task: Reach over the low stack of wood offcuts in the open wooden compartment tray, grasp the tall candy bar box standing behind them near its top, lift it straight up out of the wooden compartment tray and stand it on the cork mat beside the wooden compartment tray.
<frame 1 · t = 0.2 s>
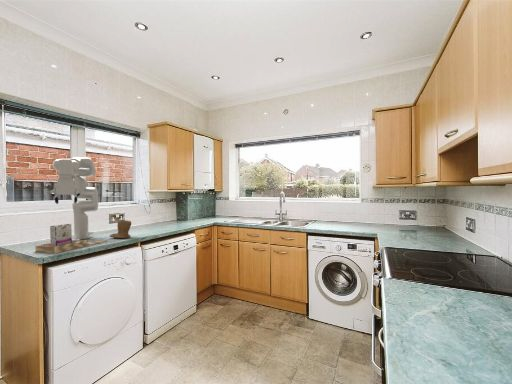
hand: (66, 203, 162), 31 cm above the worktop, tool pointing down, fingers open, 9 cm apart
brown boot: (122, 238, 203), on the worktop
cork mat: (95, 243, 182), on the worktop
candy bar box: (61, 249, 165), on the worktop
wooden compartment tray: (62, 248, 166), on the worktop
walnut offcut: (73, 246, 173), on the worktop
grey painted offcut: (73, 243, 173), point 2 cm above the worktop
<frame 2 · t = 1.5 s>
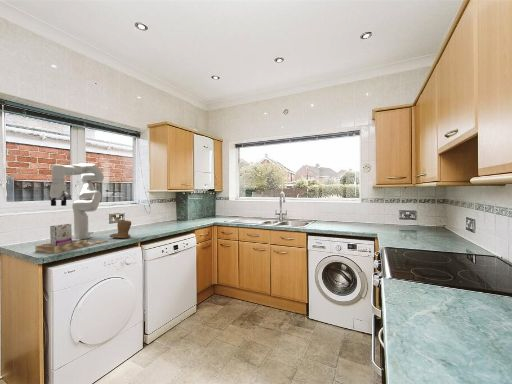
hand: (58, 205, 174), 29 cm above the worktop, tool pointing down, fingers open, 9 cm apart
walnut offcut: (73, 246, 173), on the worktop, touching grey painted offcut
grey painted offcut: (73, 243, 173), point 2 cm above the worktop, touching walnut offcut
everything else where it was.
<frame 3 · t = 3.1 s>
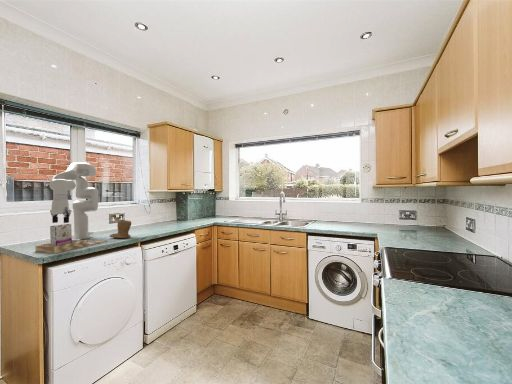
hand: (60, 222, 164), 18 cm above the worktop, tool pointing down, fingers open, 9 cm apart
walnut offcut: (73, 246, 173), on the worktop
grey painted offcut: (73, 243, 173), point 2 cm above the worktop
everything else where it was.
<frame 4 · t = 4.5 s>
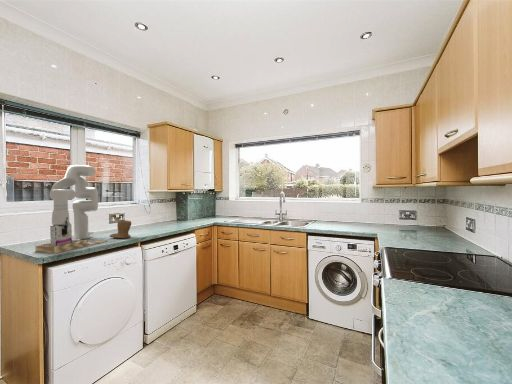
hand: (61, 234, 165), 10 cm above the worktop, tool pointing down, fingers closed on candy bar box, 5 cm apart
candy bar box: (61, 249, 165), on the worktop, touching gripper
walnut offcut: (73, 246, 173), on the worktop, touching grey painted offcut
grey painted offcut: (73, 243, 173), point 2 cm above the worktop, touching walnut offcut
everything else where it was.
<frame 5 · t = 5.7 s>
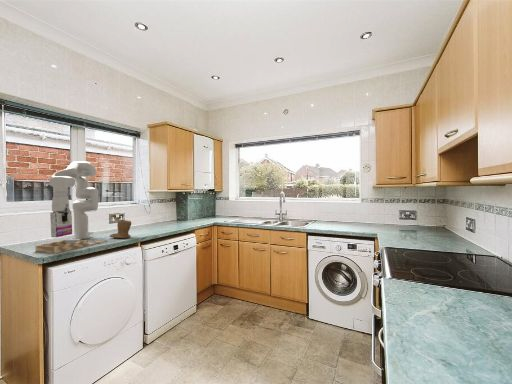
hand: (61, 221, 165), 19 cm above the worktop, tool pointing down, fingers closed on candy bar box, 5 cm apart
candy bar box: (61, 235, 166), point 9 cm above the worktop, touching gripper
everything else where it was.
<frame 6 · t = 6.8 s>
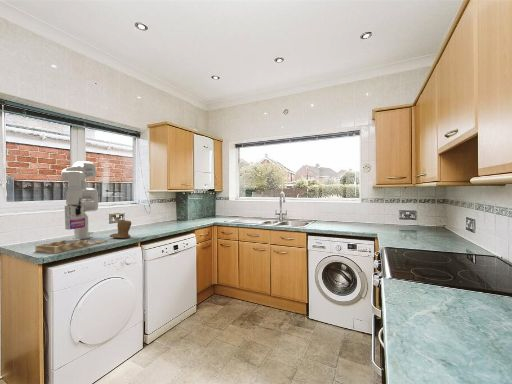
hand: (75, 214, 172), 23 cm above the worktop, tool pointing down, fingers closed on candy bar box, 5 cm apart
candy bar box: (75, 228, 172), point 13 cm above the worktop, touching gripper
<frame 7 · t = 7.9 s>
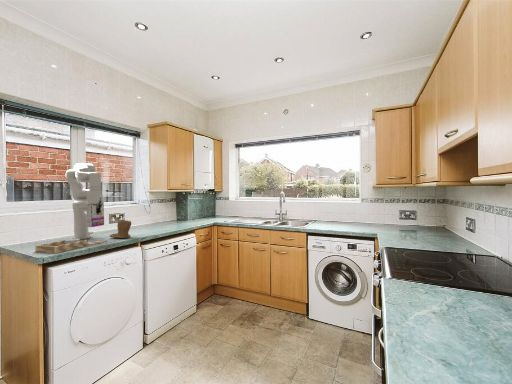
hand: (95, 212, 182), 23 cm above the worktop, tool pointing down, fingers closed on candy bar box, 5 cm apart
candy bar box: (95, 226, 182), point 13 cm above the worktop, touching gripper
when the fingers open (11 cm above the worktop, at t = 10.3 s): candy bar box stays where it is, resting on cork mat.
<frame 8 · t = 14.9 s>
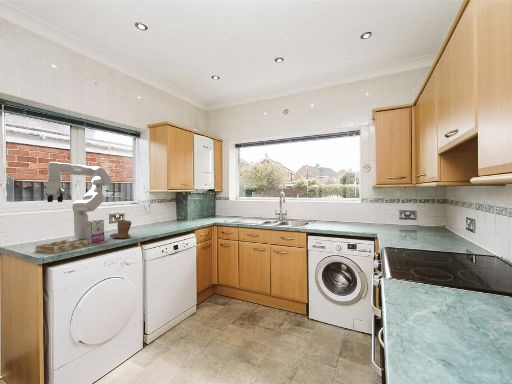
hand: (55, 202, 180), 31 cm above the worktop, tool pointing down, fingers open, 9 cm apart
candy bar box: (95, 242, 183), resting on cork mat
at the end: candy bar box inside the target area on the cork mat (0.2 cm from its centre), point 0.4 cm above the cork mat's base; candy bar box tilted 0°; the gripper is holding nothing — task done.
